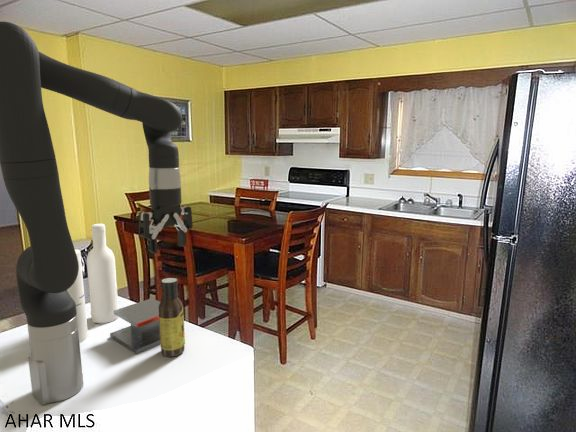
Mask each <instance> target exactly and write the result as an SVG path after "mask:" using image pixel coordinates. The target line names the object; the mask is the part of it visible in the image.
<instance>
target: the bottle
mask: <svg viewBox="0 0 576 432" xmlns="http://www.w3.org/2000/svg"><path fill="white" fill-rule="evenodd" d="M90 230H91V236H92V247H93V248H91V250H90V251H88V253H87V256H86V266H87V267H86V268H87V269H86V270H87V280H88V291H89V304H90V315H91V321H92V322H93V323H95V324H108V323H111V322H114V321H116V320H117V319H119V317H118V316H116V315H115V314H114V310H117V309H120V307H119V298H118V297H119V296H118V286H117V285H118V283H117V271H116V269H117V268H116V257H115V255H114V252H113V250H112V249H110V248H109V247H108V246H107V237H106V236H107V235H106V234H107V233H106V230H107V229H106V225H105V224H104V223H95V224H92V225H91V229H90Z"/></svg>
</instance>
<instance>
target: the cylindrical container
mask: <svg viewBox="0 0 576 432" xmlns="http://www.w3.org/2000/svg"><path fill="white" fill-rule="evenodd" d="M74 249H75V252H76V255H77V259H78V264H79V271H78V276H77V278H76V280H75V282H74V284H73V285H72V286H71V287H70V288H69V289H67V291H68V293H69V295H70V296H71V298H72V299H73V300H74V302H75V304H76V311H77V322H78V333H79V343H82V342H84V341H85V340H87V339H88V337H89V334H88V333H89V331H88V323H87V322H88V321H87V319H88V318H87V311H86V310H87V309H86V299H85V298H86V297H85V288H84V287H85V286H84V278H83V266H82V253H81V250H79V249H77V248H74Z"/></svg>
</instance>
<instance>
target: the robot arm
mask: <svg viewBox="0 0 576 432" xmlns="http://www.w3.org/2000/svg"><path fill="white" fill-rule="evenodd" d="M42 89H44V90H48V91H51V92H55V93H57V94H61V95H63V96H66V97H68V98H71V99H74V100H76V101H79V102H81V103H83V104H85V105H86V104H87V105H89V106H90V107H94V108H96V109H97V110H101V111H103V112H106V113H109V114H111V115H113V116H117V117H120V118H121V119H125V120H129V121H130V120H131V121H137V122H141V124H142V125H141V126H142V129H143V130H142V131H143V134H144V138H145V143H146V145H147V149H148V168H149V169H148V191H149V192H148V193H149V204H150V207H151V209H150V211H149V212H144V211H140V212H139V213H138V235H139V237H141V238H145V239H146V240H147V251H148V252H149V253H150V254H152V255H155V254H158V242H157V241H158V240H157V236H158V235H159V233H160V232H162V229H163V228H168V227H175V228H176V231H177V246H178V247H182V248H184V247H186V245H187V232H188V231H189V230H192V229H193V226H194V224H193V214H192V207H191V206H187V205H182V201H183V200H182V180H181V179H182V178H181V176H182V175H181V172H180V171H181V170H180V156H179V148H178V146H177V144H175V143H173V140H172V135H171V133H172V132H175V131H176V130H178V129H179V128H180V127H181V126H182V124H183V114H182V111H181V110H180V108H179V106H177V105H176V104H175V103H173V102H172V101H170V100H167V99H165V98H163V97H160V96H159V97H158V96H156V95H153V94H149V93H147V92H146V93H145V92H142V91H139V90H137V89H135V88H133V87H131V86H129V85H126V84H125V83H122V82H119V81H118V80H115V79H113V78H111V77H107V76H105V75H102V74H99V73H96V72H92V71H89V70H86V69H82V68H78V67H76V66H73V65H69V64H67V63H64V62H62V61H60V60H56V59H55V58H52V57H50V56H49V55H46V54H44V52H41V51H39V49H38V46H37V43H36V42H35V40H34V39H33V38H32V36H31V35H30V33H28V32H27V31H26V30H25V29H23V28H22V27H21V26H19V25H17V24H15V23H13V22H9V21H0V170H1V174H2V178H3V182H4V186H5V188H6V190H7V191H6V192H7V194H8V196H9V198H10V199H11V202H12V203H13V206H14V207H15V210H16V211H17V213H18V214H19V216H20V217H21V220H22V221H23V224H24V225H25V228H26V230H27V233H28V237H29V242H30V246H28V247H26V248H25V249H24V250H23V251H21V252H20V255H19V256H18V258H17V261H16V267H15V274H16V282H17V288H18V295H19V301H20V305H21V308H22V311H23V313H24V314H25V318H26V324H27V331H28V332H27V333H28V341H29V348H30V353H28V354H27V359H28V367H29V368H28V369H29V376H30V377H29V379H30V384H31V385H30V386H31V392H32V395H33V396H34V398H36V400H37V401H38V402H39V403H40V404H41V405H42V406H45V405H48V404H51V403H57V402H62V401H64V400H68V399H69V398H71V397H73V396H75V395H77V394H78V393H79V392H80V391H81V390H82V389H83V387H84V374H83V366H82V365H83V364H82V356H81V354H82V353H81V345H80V343H81V342H80V343H79V333H78V322H77V311H76V304H75V302H74V300H73V299H72V298H71V296H70V295H69V293H68V291H67V289H69V288H70V287H71V286H72V285H73V284H74V282H75V280H76V278H77V276H78V271H79V264H78V259H77V255H76V252H75V249H76V248H75V246H74V243H73V240H72V236H71V233H70V230H69V226H68V223H67V217H66V211H65V210H66V209H65V203H64V199H63V194H62V188H61V183H60V182H61V181H60V175H59V169H58V163H57V159H56V153H55V148H54V144H53V140H52V136H51V132H50V127H49V123H48V120H47V119H48V118H47V116H46V112H45V108H44V103H43V95H42V94H43V93H42ZM181 205H182V206H181ZM181 216H182V219H181ZM151 220H152V221H151ZM150 221H151V222H150Z"/></svg>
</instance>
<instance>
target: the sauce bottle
mask: <svg viewBox="0 0 576 432" xmlns="http://www.w3.org/2000/svg"><path fill="white" fill-rule="evenodd" d="M178 283H179V282H178V278H175V277H168V278H167V277H166V278H163V279H162V280H161V283H160V284H161V285H160V286H161V289H162V299H161V300H160V301H159V302H160V304H159V330H160V344H159V345H160V348H161V349H160V351H161V355H163V357H166V358H167V357H168V358H169V357H176V356H179V355H180V354H182V353H184V351H185V349H186V348H185V344H186V338H185V337H186V336H185V334H186V333H185V316H184V305H183V302H182V300H181V299H180V298H179V293H178V285H179V284H178Z"/></svg>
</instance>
